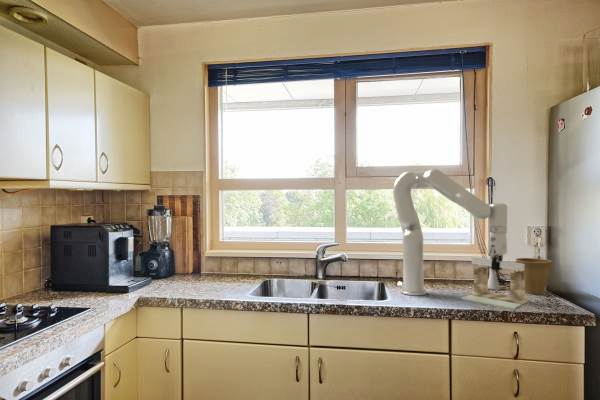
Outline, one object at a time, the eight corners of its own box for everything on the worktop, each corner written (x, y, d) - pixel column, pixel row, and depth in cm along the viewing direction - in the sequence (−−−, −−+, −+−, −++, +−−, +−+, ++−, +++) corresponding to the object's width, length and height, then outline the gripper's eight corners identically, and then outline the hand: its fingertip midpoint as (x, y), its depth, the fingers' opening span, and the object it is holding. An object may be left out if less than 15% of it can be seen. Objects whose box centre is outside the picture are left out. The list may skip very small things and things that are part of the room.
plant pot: (559, 294, 178) (559, 261, 178) (537, 297, 173) (536, 263, 172) (530, 287, 192) (530, 256, 192) (509, 290, 186) (508, 258, 186)
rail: (471, 263, 180) (471, 257, 180) (473, 263, 182) (474, 257, 182) (522, 270, 164) (522, 264, 164) (524, 270, 166) (524, 263, 166)
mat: (461, 299, 171) (461, 298, 171) (469, 296, 177) (469, 294, 177) (514, 309, 155) (514, 308, 155) (520, 305, 161) (520, 304, 161)
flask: (502, 290, 187) (502, 270, 187) (487, 289, 188) (487, 270, 188) (498, 287, 194) (498, 268, 194) (483, 286, 196) (483, 267, 196)
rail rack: (471, 295, 178) (470, 268, 178) (477, 292, 184) (477, 266, 184) (522, 304, 162) (522, 274, 162) (528, 301, 167) (528, 272, 167)
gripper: (499, 231, 165) (498, 273, 165) (512, 229, 175) (511, 268, 176) (482, 230, 170) (481, 270, 170) (495, 228, 181) (494, 266, 181)
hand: (496, 269), depth 173 cm, fingers closed on rail, 2 cm apart
